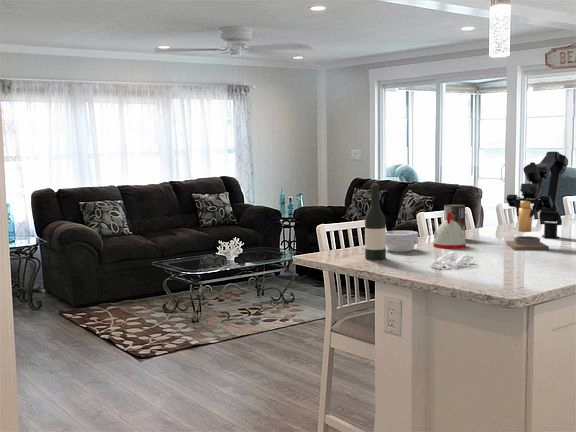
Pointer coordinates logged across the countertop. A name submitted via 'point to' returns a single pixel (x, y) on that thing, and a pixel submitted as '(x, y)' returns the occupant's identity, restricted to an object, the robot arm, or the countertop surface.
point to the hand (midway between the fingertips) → (523, 216)
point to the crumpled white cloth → (451, 261)
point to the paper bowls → (401, 240)
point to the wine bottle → (375, 229)
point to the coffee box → (456, 214)
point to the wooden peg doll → (524, 217)
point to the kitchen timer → (449, 235)
